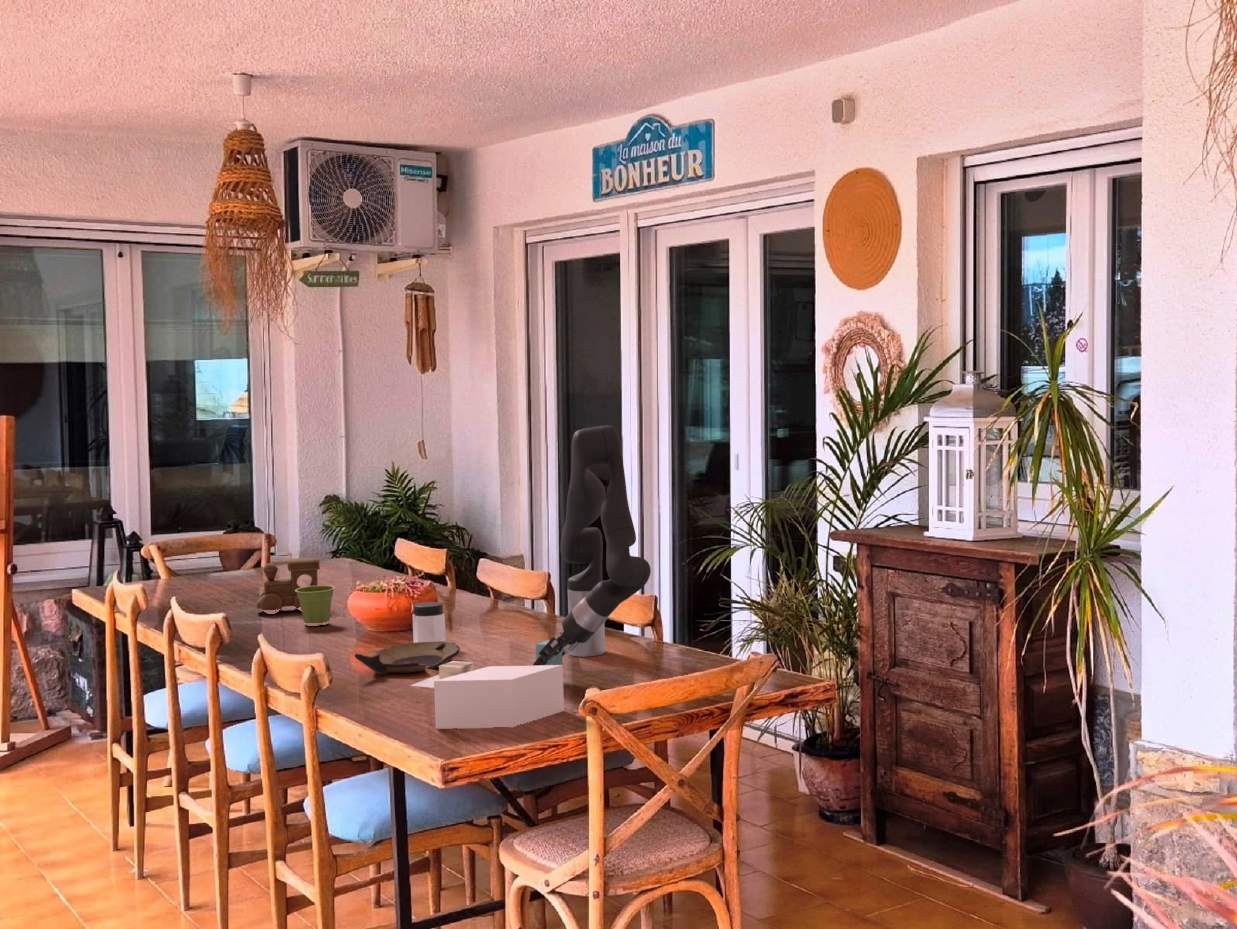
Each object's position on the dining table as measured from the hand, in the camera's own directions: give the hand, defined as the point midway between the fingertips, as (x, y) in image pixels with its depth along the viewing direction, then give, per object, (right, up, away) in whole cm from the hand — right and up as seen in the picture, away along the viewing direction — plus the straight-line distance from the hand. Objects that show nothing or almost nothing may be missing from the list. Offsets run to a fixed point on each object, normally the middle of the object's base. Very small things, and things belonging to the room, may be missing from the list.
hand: (544, 664), depth 313 cm
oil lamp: (-36, -5, +18) cm, 41 cm away
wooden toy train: (-89, 0, +113) cm, 143 cm away
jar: (-34, -3, +47) cm, 58 cm away
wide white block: (-7, -7, -32) cm, 33 cm away
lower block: (-21, -4, +2) cm, 21 cm away
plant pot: (-74, -1, +86) cm, 113 cm away
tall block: (+2, -5, 0) cm, 5 cm away
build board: (-21, -5, +2) cm, 22 cm away
